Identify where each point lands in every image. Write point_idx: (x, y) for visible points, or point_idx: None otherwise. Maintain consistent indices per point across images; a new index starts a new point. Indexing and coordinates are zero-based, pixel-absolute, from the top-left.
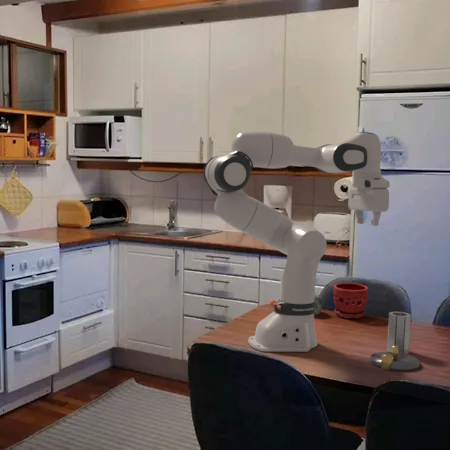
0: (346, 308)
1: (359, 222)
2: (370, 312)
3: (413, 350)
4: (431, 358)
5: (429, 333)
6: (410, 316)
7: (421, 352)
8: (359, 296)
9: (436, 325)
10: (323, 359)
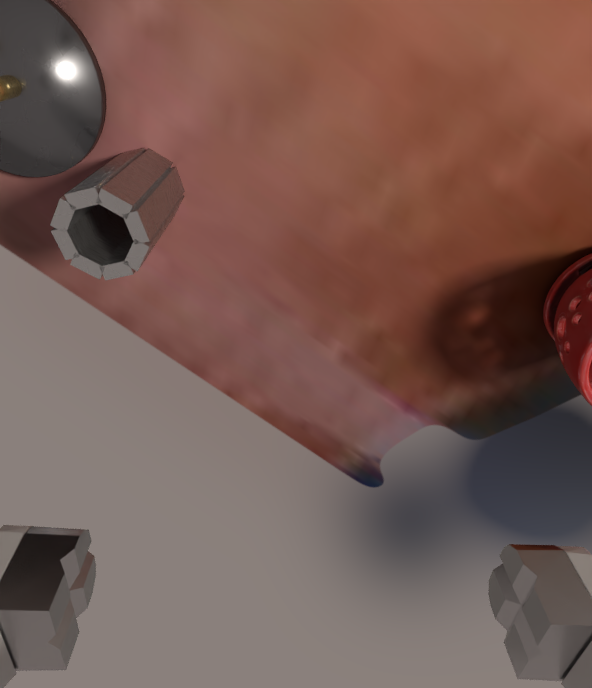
0: (589, 274)
1: (515, 562)
2: None
3: None
4: None
5: (300, 399)
6: (71, 262)
7: None
8: (571, 340)
9: (363, 461)
10: None
